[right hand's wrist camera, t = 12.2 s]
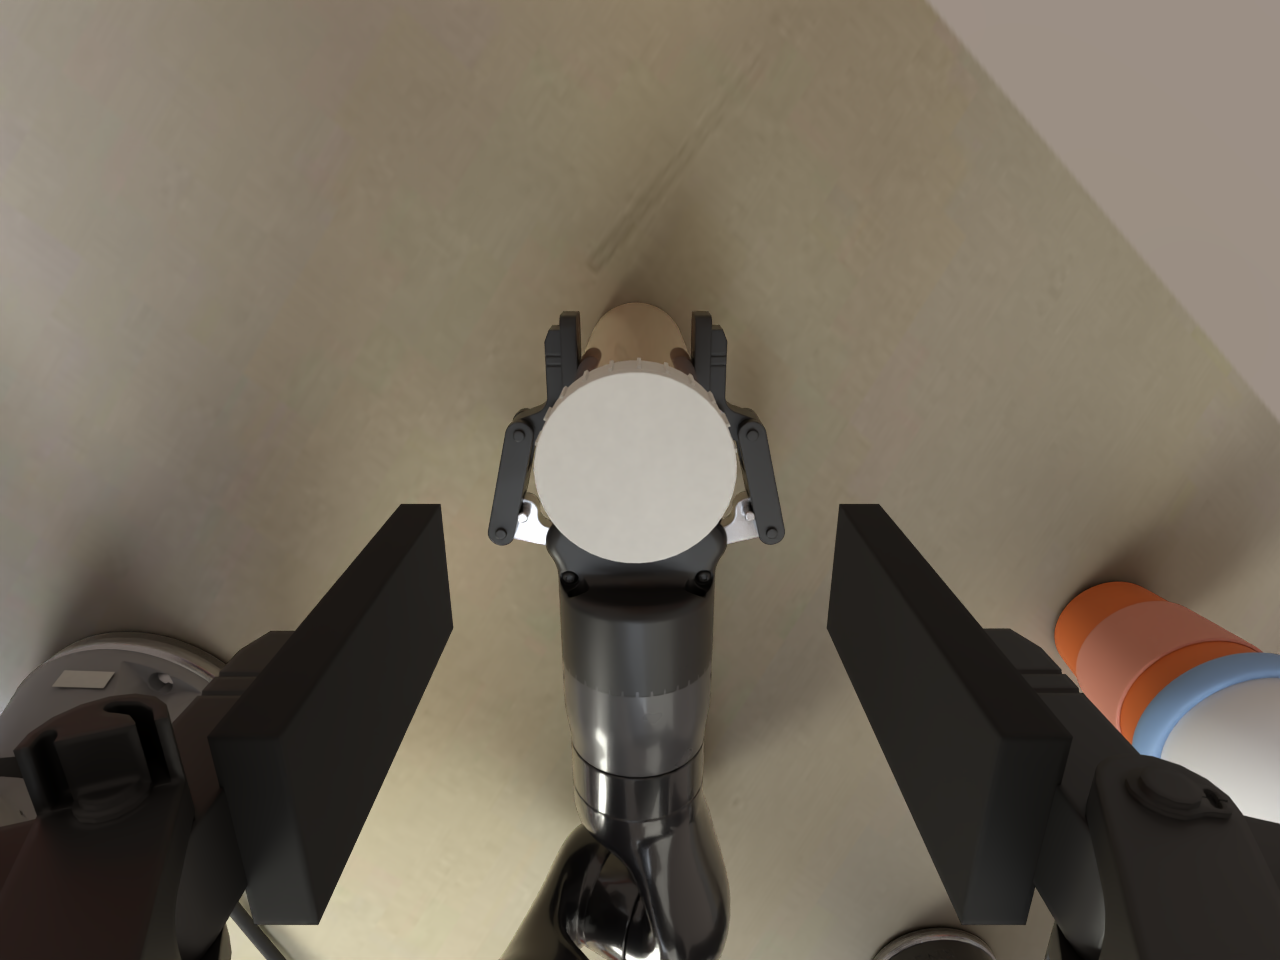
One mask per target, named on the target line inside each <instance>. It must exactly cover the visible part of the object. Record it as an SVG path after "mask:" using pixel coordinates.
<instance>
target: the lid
mask: <svg viewBox="0 0 1280 960" xmlns="http://www.w3.org/2000/svg"><path fill="white" fill-rule="evenodd" d="M543 420H544V421H546V422H545V424H544V426H543V429H542V431H540V433H539V435H538V437H537V439H536V441H535V446H536V450H535V458H534V468H533V472H534V477H535V483H536V489H537V492H538V495H539V498H540V501H541V503H542V505H543V508H544V510H545V512H546V513H547V515H548V516H549V518H550V520H551V521H552V522H553V524H554V525H555V526H556V527H557V528H558V530H559V531H560V532H561V533H562V534H563V535H564V536H566V537H567V538H568V539H569V540H570V541H571V542H573V543H574V544H576V545H577V546H578V547H580V548H582V549H584V550H585V551H587V552H589V553H591V554H594V555H596V556H599V557H601V558H604V559H608V560H612V561H617V562H624V563H646V562H654V561H659V560H663V559H667V558H669V557H672V556H675V555H678V554H680V553H682V552H684V551H686V550H688V549H689V548H691V547H692V546H694V545H695V544H697V543H698V542H700V541H701V540H702V539H703V538H704V537H705V536H707V535H708V534H709V533H710V532H711V530H712V529H713V528H714V527H715V526H716V525H717V523H718V522H719V521H720V519H721V518H722V516H723V515H724V513H725V511H726V509H727V507H728V505H729V503H730V500H731V497H732V495H733V492H734V487H735V482H736V478H737V474H736V473H737V462H736V452H737V448H736V446H735V443H734V441H733V439H732V437H731V434H730V432H729V429H728V427H730V424H729V422H728V419H727V417H726V415H725V413H723V414H722V413H721V411H720V410H719V408H718V406H717V404H716V401H715V399H714V396H713V394H712V393H711V391H709V392H707V391H706V390H705V389H704V388H703V387H702V386H701V385H700V384H699V383H697V382H696V381H695V380H694V378H693V375H691V374H690V373H689V375H686V374H684V373H683V372H681V371H679V370H677V369H674V368H672V367H670V366H669V365H668V363H666V362H664V365H663V364H660V363H656V362H650V361H641V358H637V360H630V361H620V362H615V363H614V361H613V360H612V361H610V362H609V364H607V365H604V366H601V367H599V368H596V369H594V370H592V371H590V372H589V371H588V370H586V371H584V374H583V376H581V377H580V378H579V379H577V380H576V381H575V382H573V383H572V384H571V385H570V386H569V387H567V386H565V387H564V388H563V390H562V392H561V395H560V397H559V398H558V400H557V401H556V402H555V404H554V406H553V408H551V407H549V409H548V411H547V413H546V415H545V417H544V419H543Z"/></svg>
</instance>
